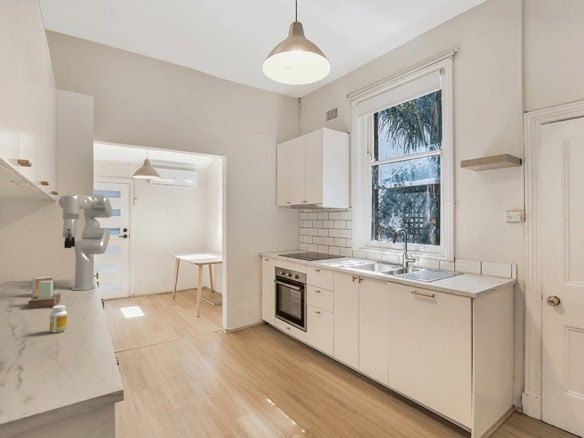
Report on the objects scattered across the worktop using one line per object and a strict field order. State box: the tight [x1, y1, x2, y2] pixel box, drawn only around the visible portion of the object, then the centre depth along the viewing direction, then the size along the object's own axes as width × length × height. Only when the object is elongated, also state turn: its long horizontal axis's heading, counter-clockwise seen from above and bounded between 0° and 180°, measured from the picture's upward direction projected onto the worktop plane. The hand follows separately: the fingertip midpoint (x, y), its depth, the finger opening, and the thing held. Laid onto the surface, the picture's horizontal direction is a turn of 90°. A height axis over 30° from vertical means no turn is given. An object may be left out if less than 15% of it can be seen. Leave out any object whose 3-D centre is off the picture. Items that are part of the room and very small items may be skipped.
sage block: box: [38, 279, 54, 299], centre depth 162 cm, size 5×5×8 cm
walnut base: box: [27, 293, 61, 310], centre depth 162 cm, size 14×10×4 cm
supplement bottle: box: [48, 304, 68, 333], centre depth 124 cm, size 5×5×10 cm
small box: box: [31, 275, 53, 298], centre depth 181 cm, size 8×6×10 cm
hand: (69, 247), depth 179 cm, fingers open, 9 cm apart
